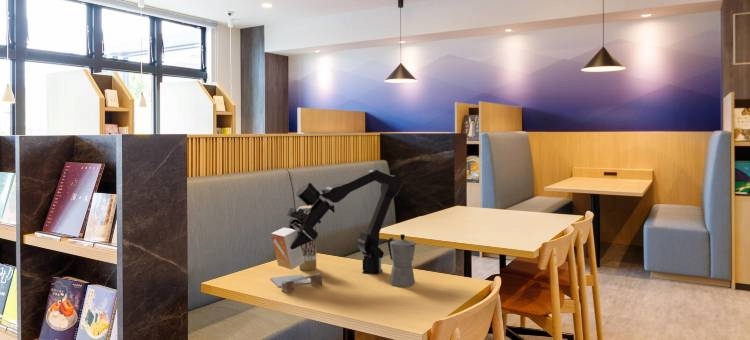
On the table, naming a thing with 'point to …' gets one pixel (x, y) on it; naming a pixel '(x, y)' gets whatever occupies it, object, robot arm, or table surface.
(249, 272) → the table surface
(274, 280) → the mat
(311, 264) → the paper tube
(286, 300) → the table surface
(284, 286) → the rod stand
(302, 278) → the steel rod
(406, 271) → the coffeepot
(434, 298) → the table surface
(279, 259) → the small box
